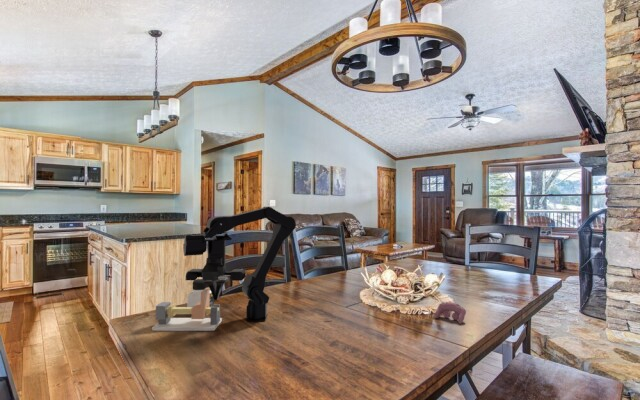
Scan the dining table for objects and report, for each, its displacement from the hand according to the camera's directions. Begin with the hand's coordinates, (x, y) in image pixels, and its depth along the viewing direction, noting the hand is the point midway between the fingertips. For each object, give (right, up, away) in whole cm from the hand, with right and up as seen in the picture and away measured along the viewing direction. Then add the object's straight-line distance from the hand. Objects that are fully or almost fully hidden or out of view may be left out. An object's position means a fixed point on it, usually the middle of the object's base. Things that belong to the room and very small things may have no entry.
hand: (216, 300), depth 112 cm
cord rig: (-9, -9, 0) cm, 13 cm away
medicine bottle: (-10, -9, +15) cm, 20 cm away
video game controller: (+82, -10, +8) cm, 83 cm away
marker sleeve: (-5, -5, 0) cm, 7 cm away
